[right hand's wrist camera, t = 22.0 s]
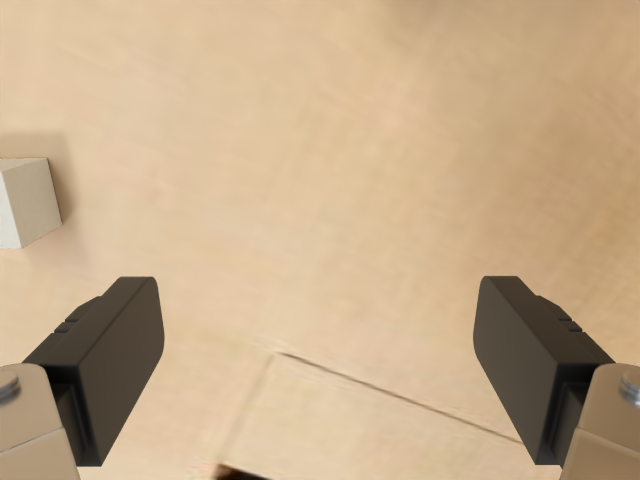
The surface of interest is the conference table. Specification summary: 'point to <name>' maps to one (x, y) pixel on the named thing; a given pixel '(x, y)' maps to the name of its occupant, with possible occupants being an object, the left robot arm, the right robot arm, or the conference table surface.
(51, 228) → the block
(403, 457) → the conference table surface
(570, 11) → the conference table surface
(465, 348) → the conference table surface
